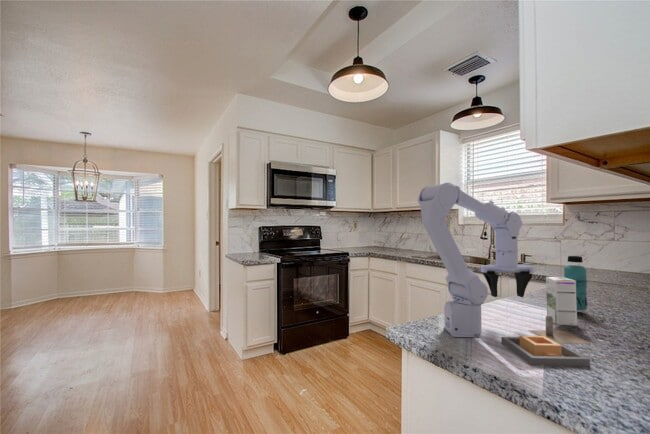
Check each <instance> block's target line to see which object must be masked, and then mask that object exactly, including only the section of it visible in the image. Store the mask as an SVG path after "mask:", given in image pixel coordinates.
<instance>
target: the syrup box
mask: <svg viewBox="0 0 650 434" xmlns="http://www.w3.org/2000/svg"><path fill="white" fill-rule="evenodd" d="M545 289H546V294H545V295H546V316H548V315H550V316H552V318H553V324H555V325H558V326H559V325H563V326H578V312H577V311H578V310H577V304H576V281H575V280H571V279H568V278H564V276H546V277H545Z"/></svg>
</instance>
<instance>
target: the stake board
mask: <svg viewBox="0 0 650 434" xmlns="http://www.w3.org/2000/svg"><path fill="white" fill-rule="evenodd" d="M528 332H530V333H532V334H533V335H534V336H545V337H547V338H551V339H553V340H555V341H557V342H559V343H561V344H575V345H576V344H582V345H583V344H584V345H585V344H587V345H592V343H591V342H589V341H587V340H585V339H583V338H580V337H578V336H576V335H574V334H573V333H570V332H567V331H566V330H554V323H553V318H552V316H550V315H548V316H547V315H546V316H545V330H540V329H538V330H537V329H533V330H532V329H529V330H528Z"/></svg>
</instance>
